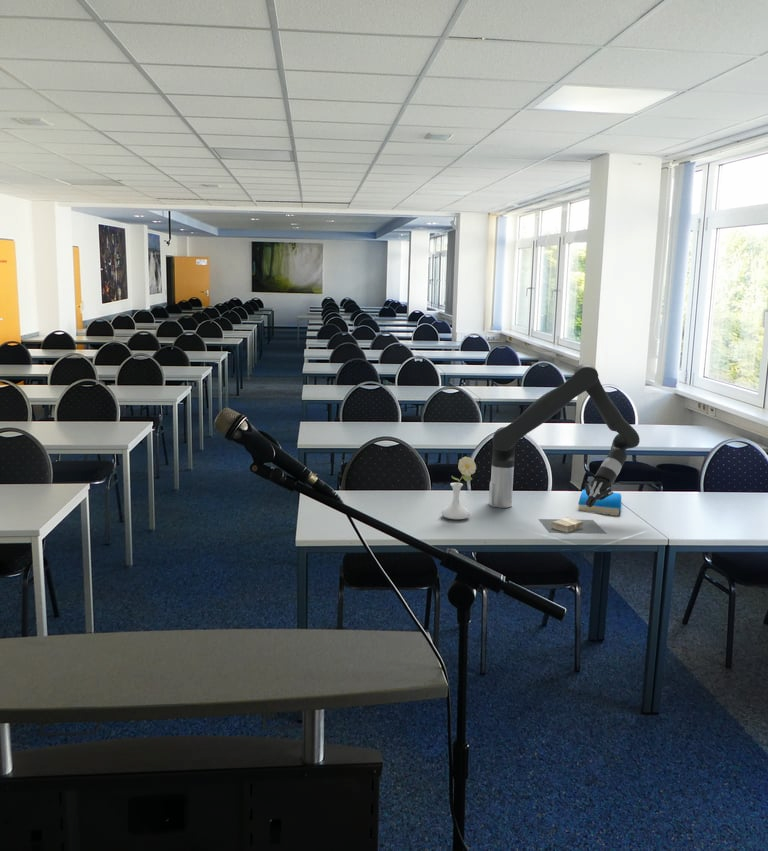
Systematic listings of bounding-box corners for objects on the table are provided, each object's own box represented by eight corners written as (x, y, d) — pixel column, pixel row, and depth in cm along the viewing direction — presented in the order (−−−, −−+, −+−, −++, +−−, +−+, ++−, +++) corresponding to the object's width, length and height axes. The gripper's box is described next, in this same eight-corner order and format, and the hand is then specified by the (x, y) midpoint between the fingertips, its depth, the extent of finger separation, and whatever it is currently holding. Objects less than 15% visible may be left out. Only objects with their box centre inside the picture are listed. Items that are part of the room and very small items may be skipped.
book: (578, 503, 327) (581, 488, 350) (577, 513, 327) (581, 498, 351) (621, 507, 322) (621, 492, 345) (620, 517, 323) (621, 502, 346)
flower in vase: (443, 521, 307) (445, 459, 303) (439, 513, 318) (441, 453, 314) (476, 522, 308) (479, 459, 304) (471, 514, 319) (473, 453, 315)
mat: (549, 534, 295) (549, 532, 294) (538, 520, 312) (538, 519, 312) (607, 535, 295) (607, 533, 295) (592, 521, 313) (593, 519, 313)
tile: (582, 527, 302) (566, 532, 295) (567, 523, 307) (551, 527, 300) (583, 521, 301) (567, 526, 295) (567, 517, 307) (552, 521, 300)
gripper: (591, 462, 317) (570, 496, 311) (619, 469, 308) (599, 504, 302) (597, 474, 322) (577, 507, 316) (626, 480, 312) (606, 515, 306)
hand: (588, 505), depth 309 cm, fingers closed
